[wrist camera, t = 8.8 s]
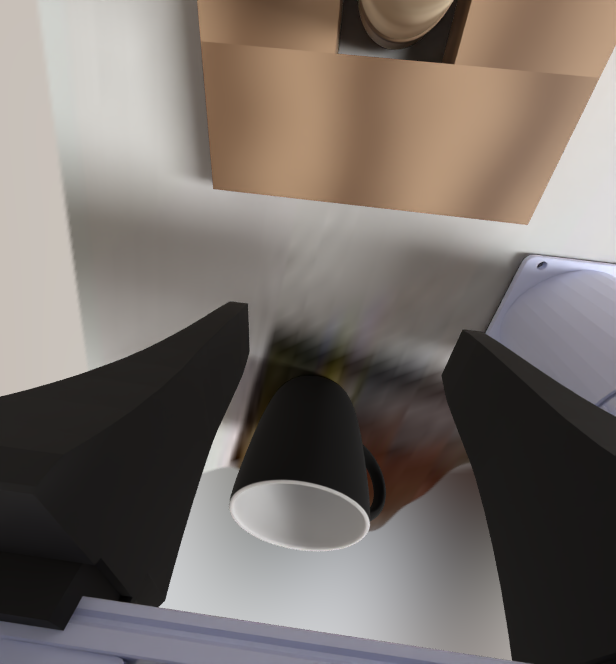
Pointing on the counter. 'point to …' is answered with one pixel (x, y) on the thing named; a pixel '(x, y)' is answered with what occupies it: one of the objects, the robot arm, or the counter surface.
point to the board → (400, 105)
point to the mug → (307, 471)
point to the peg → (400, 20)
